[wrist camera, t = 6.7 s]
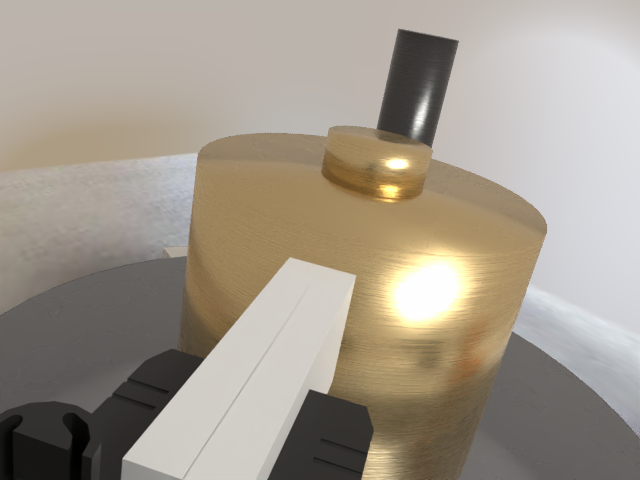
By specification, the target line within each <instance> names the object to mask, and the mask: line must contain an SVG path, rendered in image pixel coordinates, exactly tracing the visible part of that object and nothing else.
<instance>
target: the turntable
mask: <svg viewBox="0 0 640 480" xmlns="http://www.w3.org/2000/svg"><path fill="white" fill-rule="evenodd" d="M458 42H459V41H458V40H453V39H449V38H444V37H440V36H434V35H429V34H425V33H419V32H414V31H409V30H403V29H398V33H397V38H396V42H395V47H394V51H393V56H392V60H391V65H390V70H389V74H388V79H387V83H386V89H385V93H384V97H383V102H382V107H381V112H380V116H379V120H378V125H377V129H378V130H383V131H387V132H392V133H396V134H399V135H403V136H406V137H409V138H412V139H415V140H417V141H420V142H422V143H424V144H426V145H428V146H429V147H430V148H432V144H433V140H434V136H435V132H436V128H437V124H438V120H439V117H440V113H441V109H442V105H443V101H444V97H445V93H446V89H447V85H448V81H449V78H450V73H451V69H452V66H453V62H454V58H455V54H456V50H457V46H458ZM187 253H188V246H180V247H164V250H163V259H157V260H151V261H145V262H140V263H135V264H129V265H124V266H120V267H116V268H113V269H109V270H105V271H101V272H98V273H94V274H90V275H88V276H85V277H82V278H79V279H76V280H73V281H70V282H68V283H65V284H62V285H59V286H57V287H55V288H53V289H51V290H48V291H46V292H44V293H42V294H39V295H37V296H35V297H33V298H31V299H28V300H27V301H25V302H23V303H21V304H20V305H18V306H16V307H15V308H13V309H11V310H9V311H8V312H6V313H4V314H2V315H1V316H0V414H1V413H3V412H4V411H6V410H8V409H12V408H15V407H18V406H22V405H25V404H28V403H35V402H50V401H57V402H62V403H68V404H73V405H77V406H79V407H81V408H82V409H84V410H86V411H88V412H90V413H93V412H94V411H95V410H96V409H97V408H98V407H99V406H100V405H101V404H102V403H103V402H104V401H105V400H106V399H107V398H108V397H111V396H112V394H113V392H114V391H115V390H116V389H117V388H118V387H119V386H120V385H121V384H122V383H123V382H124V381H125V382H126V381H127V379H128V377H129V376H130V375H131V374H132V373H133V372H134V371H135V370H136V369H137V368H138V367H139V366H140V365H141V364H142V363H143V362H144V361H145V360H147V359H149V358H151V357H154V356H156V355H158V354H160V353H163V352H165V351H167V350H169V349H171V348H172V349H175V350H177V348H178V339H179V329H180V320H181V310H182V300H183V291H184V281H185V272H186V262H187ZM458 480H640V438H639V437H638V436H637V435H636V434H635V433H634V431H633V430H632V429H631V428H630V427H629V426H628V425H627V423H626V422H625V421H624V420H623V419H622V418H621V417H620V416H619V415H618V414H617V413H616V412H615V411H614V410H613V409H612V408H611V407H610V406H609V405H608V404H607V403H606V402H605V401H604V400H603V399H602V398H601V397H600V396H599V395H598V394H597V393H596V392H595V391H594V390H592V389H591V388H590V387H589V386H588V385H586V384H585V383H584V382H583V381H582V380H580V379H579V378H578V377H577V376H575V375H574V374H573V373H572V372H571V371H569V370H568V369H567V368H566V367H564V366H563V365H562V364H560V363H559V362H557V361H556V360H555V359H553V358H552V357H550V356H549V355H548V354H546V353H545V352H543V351H542V350H541V349H539V348H538V347H536V346H535V345H533V344H532V343H530V342H528V341H527V340H525V339H523V338H522V337H520V336H519V335H517V334H515V333H514V332H512V333H511V336H510V338H509V341H508V344H507V347H506V350H505V353H504V355H503V358H502V361H501V364H500V367H499V370H498V372H497V375H496V378H495V381H494V384H493V387H492V390H491V392H490V395H489V398H488V401H487V404H486V407H485V409H484V412H483V415H482V418H481V421H480V424H479V427H478V429H477V432H476V435H475V438H474V441H473V444H472V446H471V449H470V452H469V455H468V458H467V461H466V464H465V466H464V469H463V471H462V473H461V475H460V477H459V479H458Z"/></svg>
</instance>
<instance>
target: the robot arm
mask: <svg viewBox="0 0 640 480" xmlns="http://www.w3.org/2000/svg"><path fill="white" fill-rule="evenodd" d="M355 279H356V275H353V274H349V273H346V272H342V271H338V270H335V269H331V268H327V267H324V266H320V265H316V264H313V263H309V262H305V261H302V260H298V259H294V258H291V257H290V258H289V259H288V260H287V261H286V262H285V264H284V265H283V266H282V267H281V268H280V270H279V271H278V272H277V273H276V274H275V276H274V277H273V278H272V279H271V280H270V282H269V283H268V284H267V285H266V286H265V288H264V289H263V290H262V291H261V292H260V294H259V295H258V296H257V297H256V298H255V300H254V301H253V302H252V303H251V304H250V306H249V307H248V308H247V309H246V311H245V312H244V313H243V314H242V315H241V317H240V318H239V319H238V320H237V321H236V323H235V324H234V325H233V326H232V327H231V329H230V330H229V331H228V332H227V333H226V335H225V336H224V337H223V338H222V339H221V341H220V342H219V343H218V344H217V345H216V347H215V348H214V349H213V350H212V351H211V353H210V354H209V355H208V356H207V357H206V359H204V358H201V357H198V356H195V355H191V354H188V353H185V352H182V351H179V350H175V349H172V348H171V349H169V350H167V351H165V352H163V353H160V354H158V355H156V356H154V357H151V358H149V359H147V360H145V361H144V362H143V363H142V364H141V365H140V366H139V367H138V368H137V369H136V370H135V371H134V372H133V373H132V374H131V375H130V376H129V377H128V379H127V381H126V382H125V381H124V382H123V383H122V384H121V385H120V386H119V387H118V388H117V389H116V390H115V391H114V392H113V394H112V396H111V397H108V398H107V399H106V400H105V401H104V402H103V403H102V404H101V405H100V406H99V407H98V408H97V409H96V410H95V411H94V412H93V413H90V412H88V411H86V410H84V409H82V408H81V407H79V406H77V405H73V404H68V403H62V402H57V401H50V402H35V403H28V404H25V405H22V406H18V407H15V408H12V409H8V410H6V411H4V412H3V413H1V414H0V480H361V479H362V475H363V471H364V467H365V463H366V459H367V455H368V451H369V447H370V444H371V440H372V436H373V432H374V429H373V425H372V422H371V419H370V416H369V412H368V409H367V407H366V406H363V405H359V404H356V403H353V402H350V401H346V400H343V399H340V398H337V397H334V396H330V395H327V393H328V391H329V388H330V386H331V383H332V381H333V377H334V372H335V368H336V363H337V359H338V354H339V350H340V346H341V341H342V337H343V332H344V328H345V323H346V319H347V315H348V310H349V306H350V301H351V297H352V292H353V288H354V284H355Z"/></svg>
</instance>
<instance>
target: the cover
mask: <svg viewBox="0 0 640 480" xmlns="http://www.w3.org/2000/svg"><path fill="white" fill-rule="evenodd" d="M432 152H433V150H432V149H431V148H430V147H429V146H428V145H426V144H424V143H422V142H420V141H417V140H415V139H412V138H409V137H406V136H403V135H399V134H396V133H392V132H387V131H383V130H378V129H372V128H366V127H357V126H335V127H331V128H330V129H329V131H328V137H324V136H314V135H304V134H287V133H256V134H245V135H236V136H230V137H226V138H222V139H218V140H216V141H213V142H211V143H209V144H207V145H206V146H204V147H203V148H202V149H201V150H200V152H199V153H198V158H197V166H196V176H195V186H194V195H193V205H192V214H191V224H190V233H189V243H188V253H187V262H186V272H185V281H184V291H183V300H182V310H181V320H180V329H179V339H178V348H177V350H179V351H182V352H185V353H188V354H191V355H195V356H198V357H201V358H204V359H206V357H207V356H208V355H209V354H210V353H211V351H212V350H213V349H214V348H215V347H216V345H217V344H218V343H219V342H220V341H221V339H222V338H223V337H224V336H225V335H226V333H227V332H228V331H229V330H230V329H231V327H232V326H233V325H234V324H235V323H236V321H237V320H238V319H239V318H240V317H241V315H242V314H243V313H244V312H245V311H246V309H247V308H248V307H249V306H250V304H251V303H252V302H253V301H254V300H255V298H256V297H257V296H258V295H259V294H260V292H261V291H262V290H263V289H264V288H265V286H266V285H267V284H268V283H269V282H270V280H271V279H272V278H273V277H274V276H275V274H276V273H277V272H278V271H279V270H280V268H281V267H282V266H283V265H284V264H285V262H286V261H287V260H288V259H289V258H290V257H291V258H294V259H298V260H302V261H305V262H309V263H313V264H316V265H320V266H324V267H327V268H331V269H335V270H338V271H342V272H346V273H349V274H353V275H356V279H355V284H354V288H353V292H352V297H351V301H350V306H349V310H348V315H347V319H346V323H345V328H344V332H343V337H342V341H341V346H340V350H339V354H338V359H337V363H336V368H335V372H334V377H333V381H332V383H331V386H330V388H329V391H328V393H327V395H330V396H334V397H337V398H340V399H343V400H346V401H350V402H353V403H356V404H359V405H363V406H366V407H367V409H368V412H369V416H370V419H371V422H372V425H373V429H374V432H373V436H372V440H371V444H370V447H369V451H368V455H367V459H366V463H365V467H364V471H363V475H362V479H361V480H458V479H459V477H460V475H461V473H462V471H463V469H464V466H465V464H466V461H467V458H468V455H469V452H470V449H471V446H472V444H473V441H474V438H475V435H476V432H477V429H478V427H479V424H480V421H481V418H482V415H483V412H484V409H485V407H486V404H487V401H488V398H489V395H490V392H491V390H492V387H493V384H494V381H495V378H496V375H497V372H498V370H499V367H500V364H501V361H502V358H503V355H504V353H505V350H506V347H507V344H508V341H509V338H510V336H511V333H512V330H513V327H514V324H515V321H516V318H517V316H518V313H519V310H520V307H521V304H522V301H523V299H524V296H525V293H526V290H527V287H528V284H529V281H530V279H531V276H532V273H533V270H534V267H535V264H536V261H537V259H538V256H539V253H540V250H541V247H542V244H543V242H544V239H545V236H546V233H547V224H546V222H545V219H544V218H543V216H542V215H541V214H540V212H539V211H538V210H537V209H536V208H534V207H533V206H532V205H531V204H530V203H528V202H527V201H525V200H524V199H523V198H522V197H520V196H518V195H517V194H515V193H513V192H512V191H510V190H508V189H506V188H504V187H502V186H501V185H499V184H497V183H494V182H492V181H490V180H488V179H485V178H483V177H481V176H479V175H476V174H474V173H471V172H469V171H466V170H463V169H461V168H458V167H455V166H452V165H449V164H446V163H443V162H440V161H437V160H433V159H431V156H432Z"/></svg>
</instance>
